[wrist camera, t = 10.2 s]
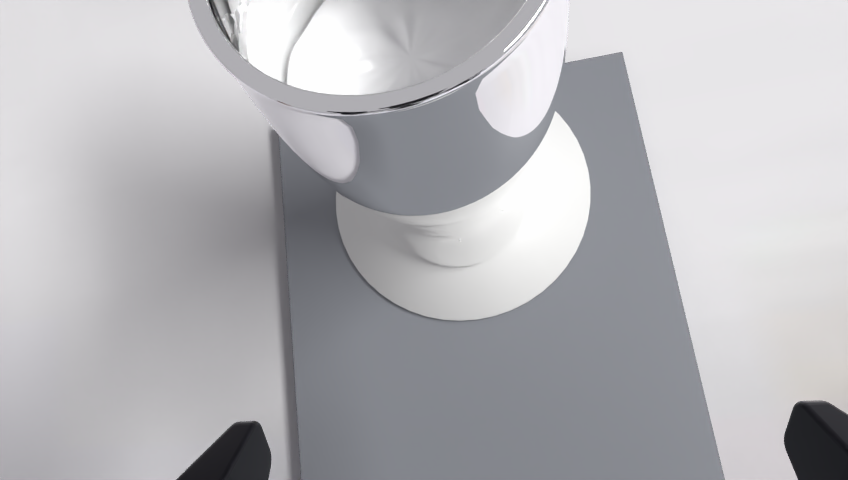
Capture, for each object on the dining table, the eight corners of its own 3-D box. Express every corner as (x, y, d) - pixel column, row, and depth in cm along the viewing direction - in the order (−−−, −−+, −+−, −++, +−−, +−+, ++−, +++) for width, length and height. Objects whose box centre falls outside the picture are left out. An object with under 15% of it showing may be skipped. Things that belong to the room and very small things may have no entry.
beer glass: (347, 219, 24) (93, -2, 9) (439, 95, 24) (335, -291, 10) (477, 311, 22) (411, 213, 8) (572, 175, 23) (680, -154, 8)
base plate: (763, 670, 19) (776, 687, 18) (323, 695, 21) (314, 711, 20) (617, 55, 25) (621, 43, 24) (284, 119, 27) (275, 110, 26)
